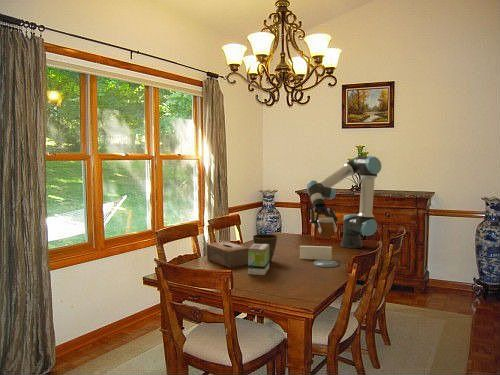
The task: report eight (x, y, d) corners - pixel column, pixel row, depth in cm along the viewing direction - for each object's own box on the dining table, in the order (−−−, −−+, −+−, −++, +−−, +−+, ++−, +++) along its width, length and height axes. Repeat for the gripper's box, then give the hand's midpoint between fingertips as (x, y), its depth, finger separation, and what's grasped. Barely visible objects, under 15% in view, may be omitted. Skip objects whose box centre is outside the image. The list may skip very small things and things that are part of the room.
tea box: (265, 275, 236) (265, 249, 235) (247, 274, 238) (247, 248, 237) (269, 268, 251) (269, 243, 250) (252, 267, 253) (252, 242, 252)
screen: (299, 258, 272) (299, 246, 272) (299, 258, 274) (300, 245, 274) (331, 259, 269) (331, 247, 268) (331, 259, 271) (331, 246, 270)
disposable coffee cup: (316, 236, 262) (316, 216, 261) (331, 235, 263) (331, 216, 262) (320, 239, 252) (320, 219, 251) (336, 238, 253) (336, 218, 252)
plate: (326, 259, 269) (326, 258, 269) (344, 265, 257) (344, 263, 257) (308, 263, 261) (308, 262, 261) (325, 268, 248) (325, 267, 248)
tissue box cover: (248, 264, 262) (248, 248, 261) (229, 268, 253) (228, 251, 252) (226, 256, 282) (225, 241, 282) (207, 259, 274) (206, 244, 273)
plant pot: (264, 257, 277) (264, 233, 276) (282, 261, 267) (282, 236, 265) (248, 261, 267) (248, 236, 265) (265, 265, 256) (265, 239, 255)
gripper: (332, 204, 274) (343, 234, 259) (300, 206, 268) (309, 235, 254) (336, 197, 268) (347, 226, 254) (303, 198, 263) (312, 228, 249)
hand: (328, 231), depth 254 cm, fingers closed on disposable coffee cup, 9 cm apart
